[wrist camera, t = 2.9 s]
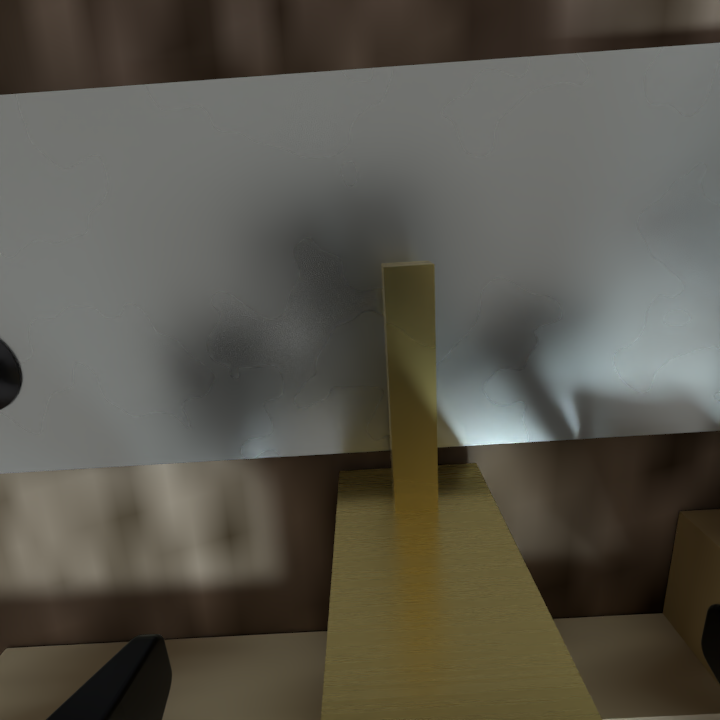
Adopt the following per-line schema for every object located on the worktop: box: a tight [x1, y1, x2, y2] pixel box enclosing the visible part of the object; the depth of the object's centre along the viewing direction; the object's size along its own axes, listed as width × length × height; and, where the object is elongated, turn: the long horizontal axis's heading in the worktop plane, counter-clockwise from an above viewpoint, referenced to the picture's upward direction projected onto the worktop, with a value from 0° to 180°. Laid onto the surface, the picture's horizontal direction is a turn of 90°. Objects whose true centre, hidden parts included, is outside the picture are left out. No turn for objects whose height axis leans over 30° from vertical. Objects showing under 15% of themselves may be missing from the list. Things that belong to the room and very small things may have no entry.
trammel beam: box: [0, 509, 720, 720], centre depth 8 cm, size 20×10×6 cm, turn 94°
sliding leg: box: [321, 260, 602, 720], centre depth 7 cm, size 3×11×7 cm, turn 4°
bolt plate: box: [0, 43, 720, 474], centre depth 9 cm, size 20×7×1 cm, turn 94°
